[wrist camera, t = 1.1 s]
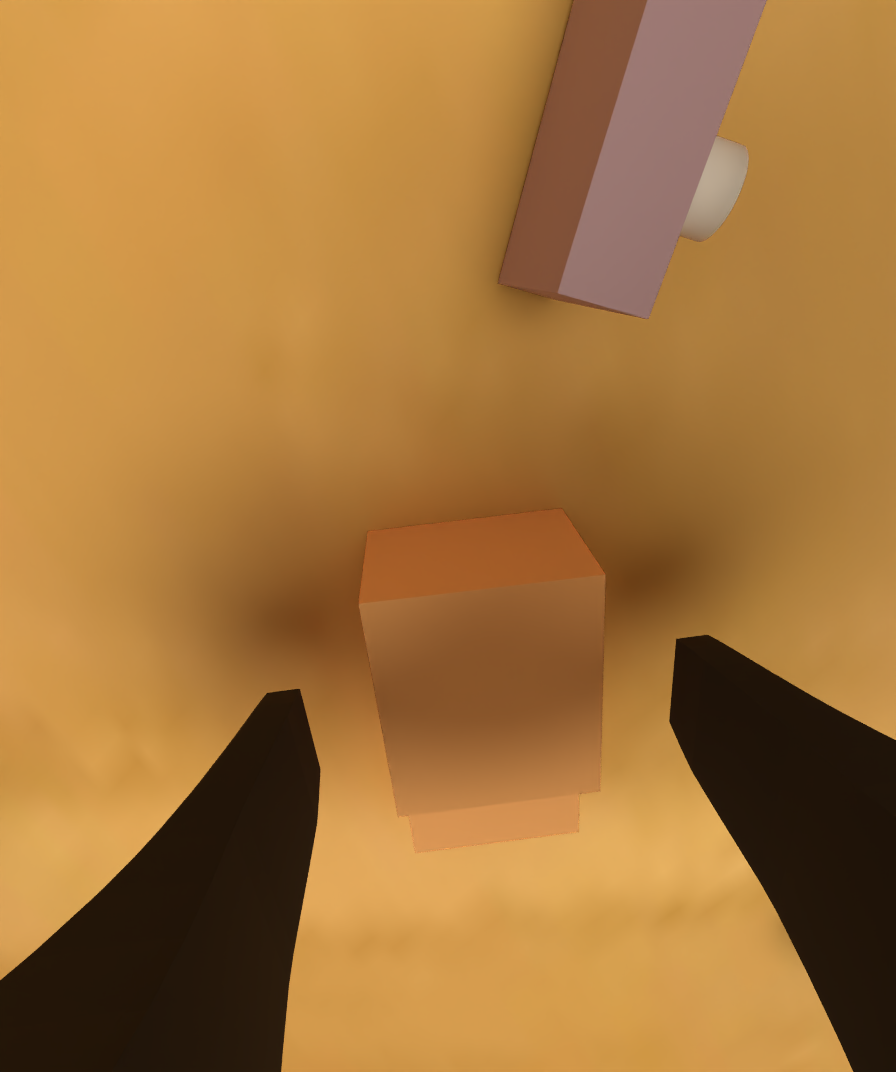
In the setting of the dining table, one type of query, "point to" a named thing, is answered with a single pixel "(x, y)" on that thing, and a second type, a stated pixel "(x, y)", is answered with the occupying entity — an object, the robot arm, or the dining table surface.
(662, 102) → the door
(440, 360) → the dining table surface
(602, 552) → the dining table surface
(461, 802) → the orange brown block
